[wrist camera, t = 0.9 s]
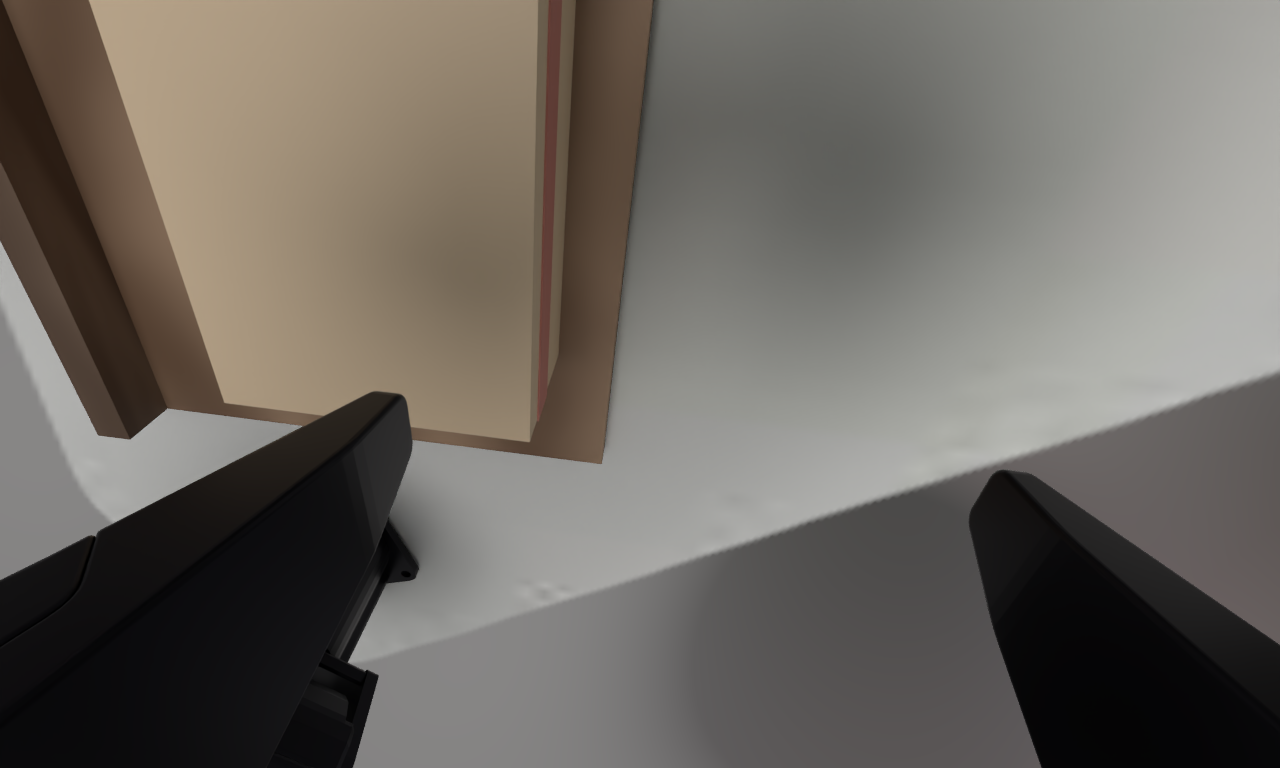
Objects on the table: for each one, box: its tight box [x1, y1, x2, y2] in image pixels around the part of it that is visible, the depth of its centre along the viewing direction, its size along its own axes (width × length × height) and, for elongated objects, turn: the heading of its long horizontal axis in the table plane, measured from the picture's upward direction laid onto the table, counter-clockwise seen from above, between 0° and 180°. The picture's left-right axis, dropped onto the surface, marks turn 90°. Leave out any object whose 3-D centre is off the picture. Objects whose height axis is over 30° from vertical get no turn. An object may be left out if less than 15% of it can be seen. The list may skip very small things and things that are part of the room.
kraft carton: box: [89, 0, 576, 442], centre depth 16 cm, size 9×12×5 cm
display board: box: [0, 0, 654, 464], centre depth 18 cm, size 19×22×3 cm
